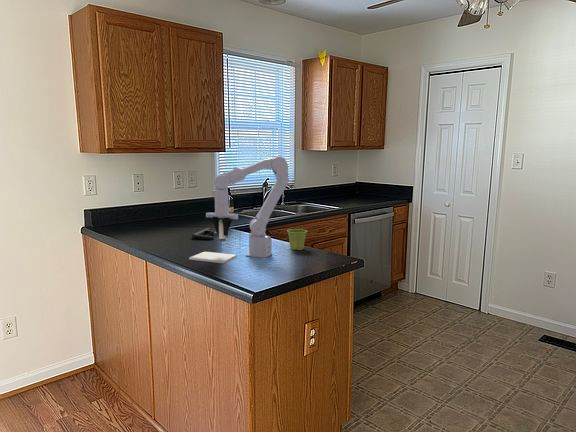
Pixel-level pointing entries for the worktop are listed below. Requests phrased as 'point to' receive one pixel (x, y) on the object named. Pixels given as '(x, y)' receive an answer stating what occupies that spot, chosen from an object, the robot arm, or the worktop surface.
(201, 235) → the door handle
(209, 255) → the notepad
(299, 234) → the plant pot
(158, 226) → the worktop surface
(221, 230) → the marker
